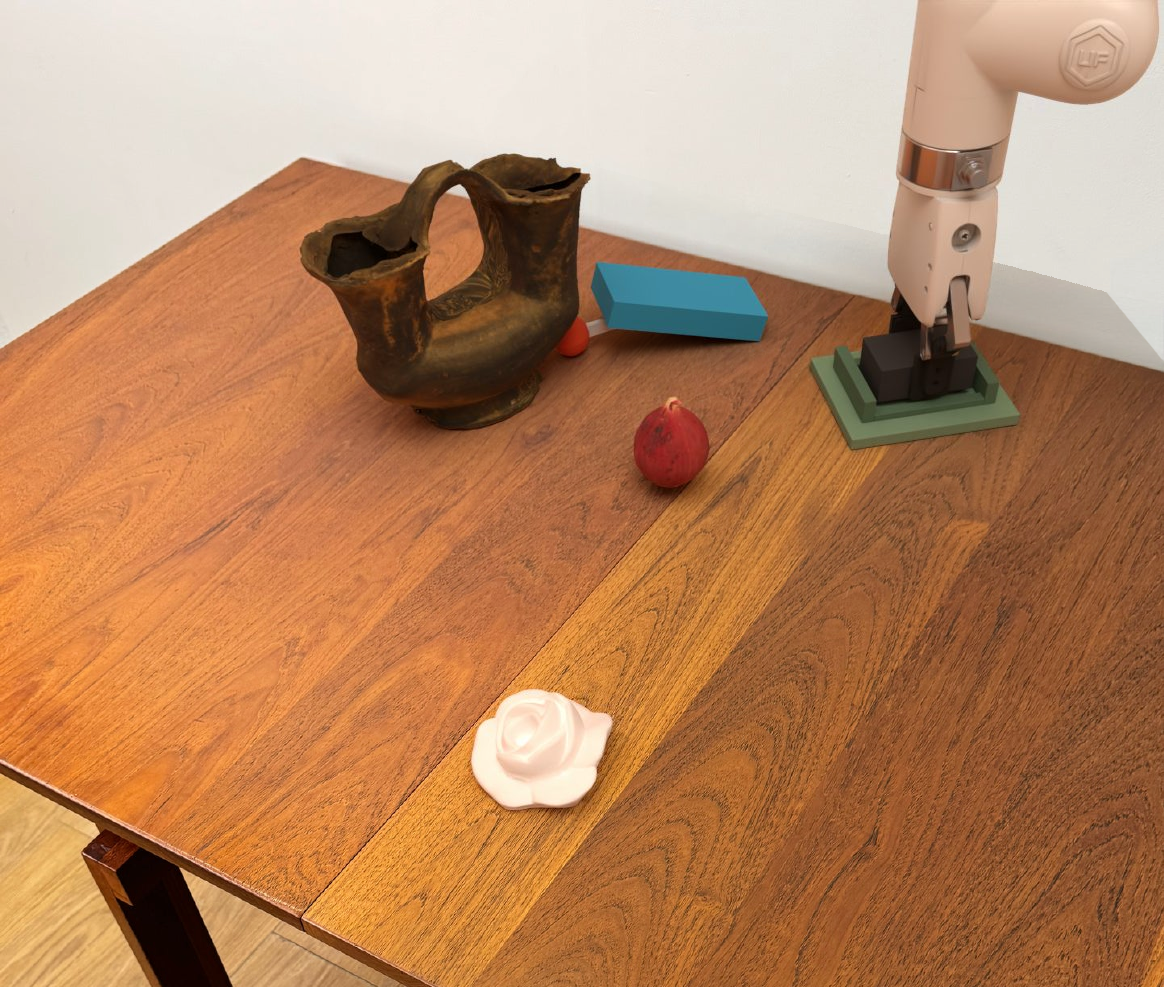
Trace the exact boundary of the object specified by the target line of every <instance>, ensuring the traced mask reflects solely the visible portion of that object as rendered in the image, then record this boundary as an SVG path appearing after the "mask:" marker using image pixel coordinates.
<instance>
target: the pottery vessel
mask: <svg viewBox="0 0 1164 987" xmlns="http://www.w3.org/2000/svg"><path fill="white" fill-rule="evenodd" d="M581 171H582V168H579V167H573V166H567V167H563V166H561V165H560V164H558V162H557V157H549V158H548V159H545V158H542V157H534V156H524V155H522V154H519V153H500V154H497V155H495V156H491V157H488V158H484V159H482V160H480V161H478V162H477V163H475V164H473V165H472V166H471V167H469V168H465V167H464V166H462V165H461V164H460V163H458V162H457V161H456V162H454V161H453V159H448V160H447V159H446V160H444V161H441V162H438V163H435V164H432V165H429V166H425V167H424V168H422V170H421V171H420V172H419V173H418V174H417V176H416V178H415V179H414V180H413V181H412V182H411V184H409V185H408V187H407V189H406V190H405V192H404V194H403V195H402V198H401V199H400V201H399V202H397V203H393V204H391V205H389V206H387V207H386V208H384V209H382V210H380V211H377V212H376V213H373V214H370V215H364V216H361V215H360V216H359V215H354V216H352V217H342V218H339V219H334V220H331V221H329V222H326V223H324V225H322V227H321V228H320V229H316V230H314V231H313V232H312V231H311V232H309V233H307V234H306V235H305V236H303V240H302V243H301V245H300V247H299V253H300V255H301V257H300V263H301V266H302V267H303V268H304V270H305V271H306V272H307V273H308V274H309V275H310V276H311V277H313V278H314V279H316V280H318V281H319V282H321V283H322V284H325V285H326V286H327V287H328V288H329V289H330V290H331V291H332V293H333V295H334V296H335V298H336V300H337V301H338V304H339V306H340V308H341V310H342V313H343V314H344V316H345V319H346V321H347V323H348V324H349V326H350V328H351V330H352V332H353V335H354V338H355V341H356V357H355V358H356V360H355V361H356V367H357V370H358V372H359V374H360V375H361V377H362V378H363V379H364V381H365V382H366V384H367V385H368V386H369V388H371V389H372V390H373V391H374V392H375V393H376V394H377V395H378V396H380V398H382V399H383V400H385V401H386V402H388V403H390V404H395V405H396V404H397V405H401V406H402V405H403V406H409V407H410V409H412V410H413V412H414V413H415V415H417V416H419V417H421V418H423V419H425V418H427V419H428V420H429V422H434V424H435V425H436V426H437V427H440V428H443V429H449V430H450V429H465V430H470V429H477V428H482V427H487V426H489V425H492V424H496V423H499V422H502V421H504V420H506V419H508V418H510V417H512V416H513V415H515V414H517V413H519V412H521V411H523V410H524V409H526V407H527V406H529V405H530V404H531V403H532V402H533V400H534V399H535V397H536V394H537V393H538V392H539V391H540V387H541V382H542V378H543V376H542V375H541V373H540V372H539V370H537V369H538V368H539V367H540V366H541V365H542V364H543V362H544V361H545V360H546V359H547V358H548V356H549V355H550V354H551V353H552V352H553V351H554V350H556V348H555V347H556V346H557V345H558V344H559V343H560V341H561V339H562V338H563V337H564V335H565V334H566V332H567V331H568V330H569V329H570V328H571V326H572V324H573V323H574V321H575V319H576V317H578V315H579V314H580V313H579V312H580V292H579V291H580V290H579V281H578V244H579V232H580V214H581V213H580V211H581V201H582V191H583V189H584V188H585V187H586V185H587V184H588V183H589V181H590V180H591V174H590V173H589V172H588V173H585V172H581ZM459 185H460V186H461V187H462V188H463V189H464V190H465V192H466V194H467V195H468V198H469V200H470V204H471V206H472V209H473V211H474V214H475V216H476V220H477V224H478V229H479V232H480V237H481V240H482V244H483V251H482V256H481V260H480V261H479V264H478V265H477V267H476V269H475V270H474V271H472V273H471V274H470V275H469V276H468V277H466V278H465V279H464V280H462V281H461V282H459V283H458V284H455V286H453V287H451V288H450V289H448V290H446V291H445V292H443V293H441V294H439V295H438V296H436V297H433V298H430V299H429V300H428V299H427V292H426V284H425V275H424V270H425V263H426V260H427V257H428V256H430V255H431V250H430V249H431V248H432V247H431V245H430V242H429V234H430V227H431V224H432V221H433V218H434V212H435V208H436V206H437V203H438V201H439V200H440V198H441V197H442V196H443V195H445V194H446V193H447V192H448V191H449V190H451V189H452V188H454V187H457V186H459Z"/></svg>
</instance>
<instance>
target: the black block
mask: <svg viewBox="0 0 1164 987" xmlns="http://www.w3.org/2000/svg"><path fill="white" fill-rule="evenodd" d="M947 331H948V325H944V326H938V327H933V339H932V341H933V340H935V339H936V338H937V337H941V336H944V335H946V334H947ZM920 338H921V329H916V330H909V331H903V332H896V333H890V334H888V333H885V334H878V335H870V336H865V337H862V342H861V350H860V351H861V358H860V366H859V369H860V371H861V373H862V375H863V377H864V379H865V380H866V382H867V384H868V386H869V388H870V390H871V391H872V393H873V395H874V397H875V399H876V401H877V402H878V403H879V402H886V401H892V400H898V399H905V398H910V396H909V387H910V381H911V375H912V368H913V362H914V356H915V354H917V353H920ZM977 360H978V355H977V353H976V352H975V350H974V349H973V347H972V346H971V344H970V345H969V346H968V347H965V348H962V349H961V350H959V353H958V355H957V356H955V361H954V366H953V371H952V377H951V382H950V387H949V392H950V391H956V390H962V389H969V388H972V385H973V380H974V375H975V370H976V365H977Z"/></svg>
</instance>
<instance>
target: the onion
mask: <svg viewBox="0 0 1164 987" xmlns="http://www.w3.org/2000/svg"><path fill="white" fill-rule="evenodd" d="M682 404H683V402H682V399H680V398H679V397H677V395H676V396H670V397H668V398H667V399H666V401H664V403H663V405H662V406H659V407H657V408H655V409H653V410H652V411H651V412H649V413H648V414H647V415H645V417H644V418H643V420H642V421H641V423H640V424H639V426H638V427H637V429H636V431H635V434H634V436H633V437H634V438H633V458H634V462H635V465H636V466H637V467H638V470H639V471H640V473H641V474H642V475H643V477H644V478H645V479H646V480H648V481H650V482H651V483H653V484H654V485H656V486H658V487H663V488H671V489H675V488H677V487H680V486H682V485H684V484H687V483H689V482H690V481H692V480H693V479H694V478H696V477H697V476H698V475H700V473H701V472H702V471H703V469H704V467H705V465H706V463H707V461H708V459H709V454H710V448H711V447H710V438H709V435H708V431H707V429H706V427H705V425H704V423H703V422H702V421H701V419H700V418H699V417H698V416H697V415H696V414H695V413H693V411H691V410H689V409H687V408H685V407H683V406H682Z"/></svg>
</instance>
